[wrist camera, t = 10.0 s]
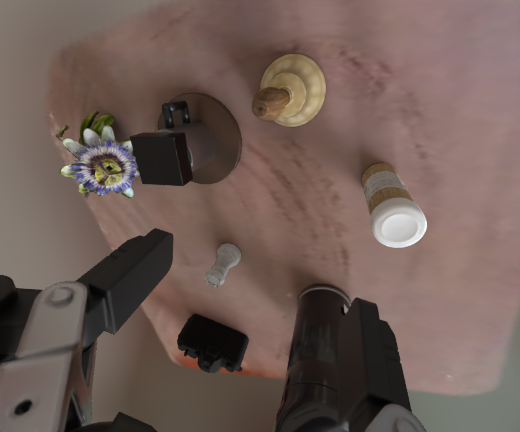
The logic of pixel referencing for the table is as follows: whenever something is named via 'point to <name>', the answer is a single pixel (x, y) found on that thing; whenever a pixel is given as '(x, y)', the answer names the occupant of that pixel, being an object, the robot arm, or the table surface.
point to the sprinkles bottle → (392, 208)
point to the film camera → (212, 344)
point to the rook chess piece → (223, 264)
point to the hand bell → (290, 91)
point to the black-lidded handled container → (173, 148)
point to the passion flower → (100, 158)
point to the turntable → (223, 130)
